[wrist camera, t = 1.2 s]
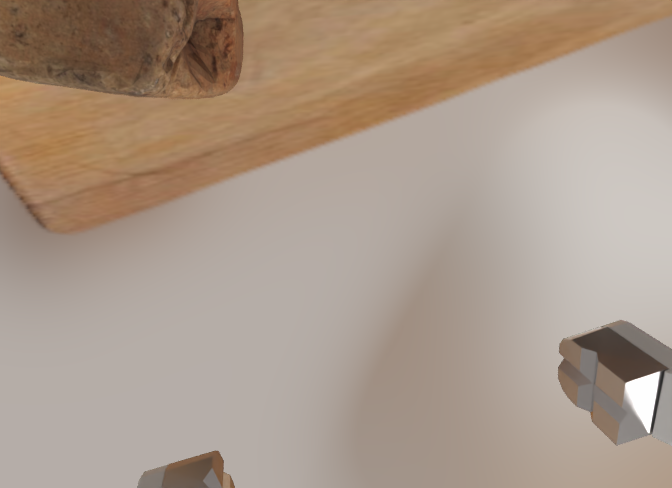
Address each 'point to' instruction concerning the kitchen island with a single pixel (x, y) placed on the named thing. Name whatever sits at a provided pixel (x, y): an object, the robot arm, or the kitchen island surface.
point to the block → (124, 45)
